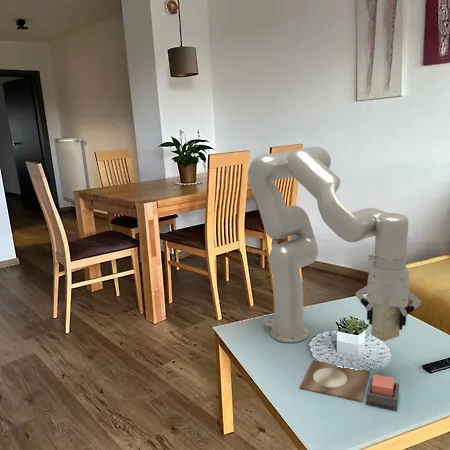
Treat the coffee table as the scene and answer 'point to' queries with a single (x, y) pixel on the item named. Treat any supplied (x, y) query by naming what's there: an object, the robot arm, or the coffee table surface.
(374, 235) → the robot arm
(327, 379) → the board
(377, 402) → the button housing
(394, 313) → the skincare box
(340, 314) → the coffee table surface
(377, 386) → the button
